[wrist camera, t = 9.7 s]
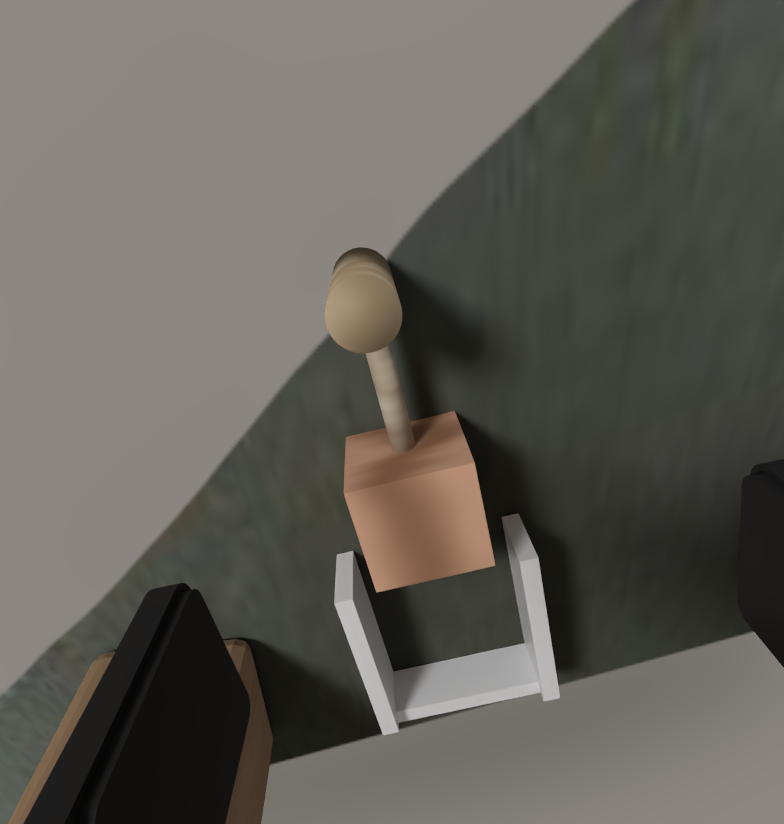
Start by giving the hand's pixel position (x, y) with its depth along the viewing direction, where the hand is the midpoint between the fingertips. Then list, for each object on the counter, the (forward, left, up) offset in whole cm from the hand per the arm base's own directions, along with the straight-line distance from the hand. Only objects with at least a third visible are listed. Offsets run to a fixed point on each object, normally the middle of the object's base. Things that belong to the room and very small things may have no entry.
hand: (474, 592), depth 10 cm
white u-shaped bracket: (+1, +20, -19) cm, 28 cm away
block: (+1, +4, -19) cm, 20 cm away
